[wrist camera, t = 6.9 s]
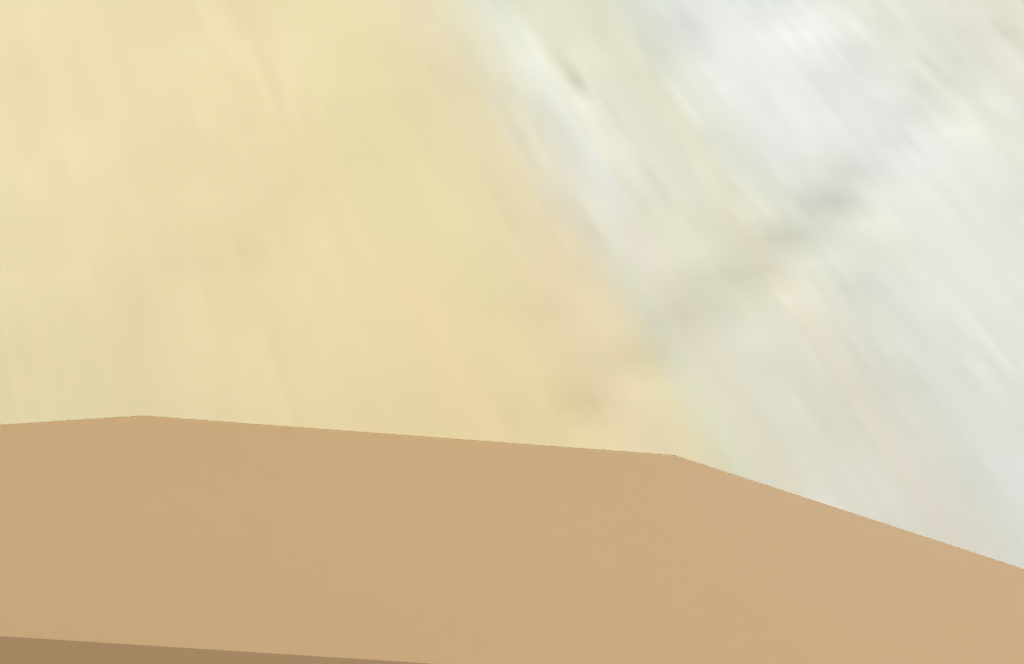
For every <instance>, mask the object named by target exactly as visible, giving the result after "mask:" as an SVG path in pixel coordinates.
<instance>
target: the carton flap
mask: <svg viewBox="0 0 1024 664" xmlns="http://www.w3.org/2000/svg"><path fill="white" fill-rule="evenodd" d="M0 664H1024V569H1022V568H1019V567H1016V566H1013V565H1009V564H1006V563H1003V562H1000V561H997V560H994V559H991V558H988V557H985V556H982V555H979V554H976V553H973V552H970V551H967V550H963V549H960V548H957V547H954V546H951V545H948V544H945V543H942V542H939V541H936V540H933V539H930V538H927V537H924V536H921V535H917V534H914V533H911V532H908V531H905V530H902V529H899V528H896V527H893V526H890V525H887V524H884V523H881V522H878V521H875V520H871V519H868V518H865V517H862V516H859V515H856V514H853V513H850V512H847V511H844V510H841V509H838V508H835V507H832V506H829V505H825V504H822V503H819V502H816V501H813V500H810V499H807V498H804V497H801V496H798V495H795V494H792V493H789V492H786V491H783V490H779V489H776V488H773V487H770V486H767V485H764V484H761V483H758V482H755V481H752V480H749V479H746V478H743V477H740V476H736V475H733V474H730V473H727V472H724V471H721V470H718V469H715V468H712V467H709V466H706V465H703V464H700V463H697V462H694V461H690V460H687V459H684V458H681V457H678V456H675V455H665V454H652V453H638V452H625V451H611V450H598V449H584V448H571V447H557V446H544V445H530V444H517V443H504V442H490V441H477V440H463V439H450V438H436V437H423V436H409V435H396V434H382V433H369V432H355V431H342V430H329V429H315V428H302V427H288V426H275V425H261V424H248V423H234V422H221V421H207V420H194V419H180V418H167V417H153V416H131V417H115V418H100V419H84V420H68V421H52V422H36V423H21V424H5V425H0Z"/></svg>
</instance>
